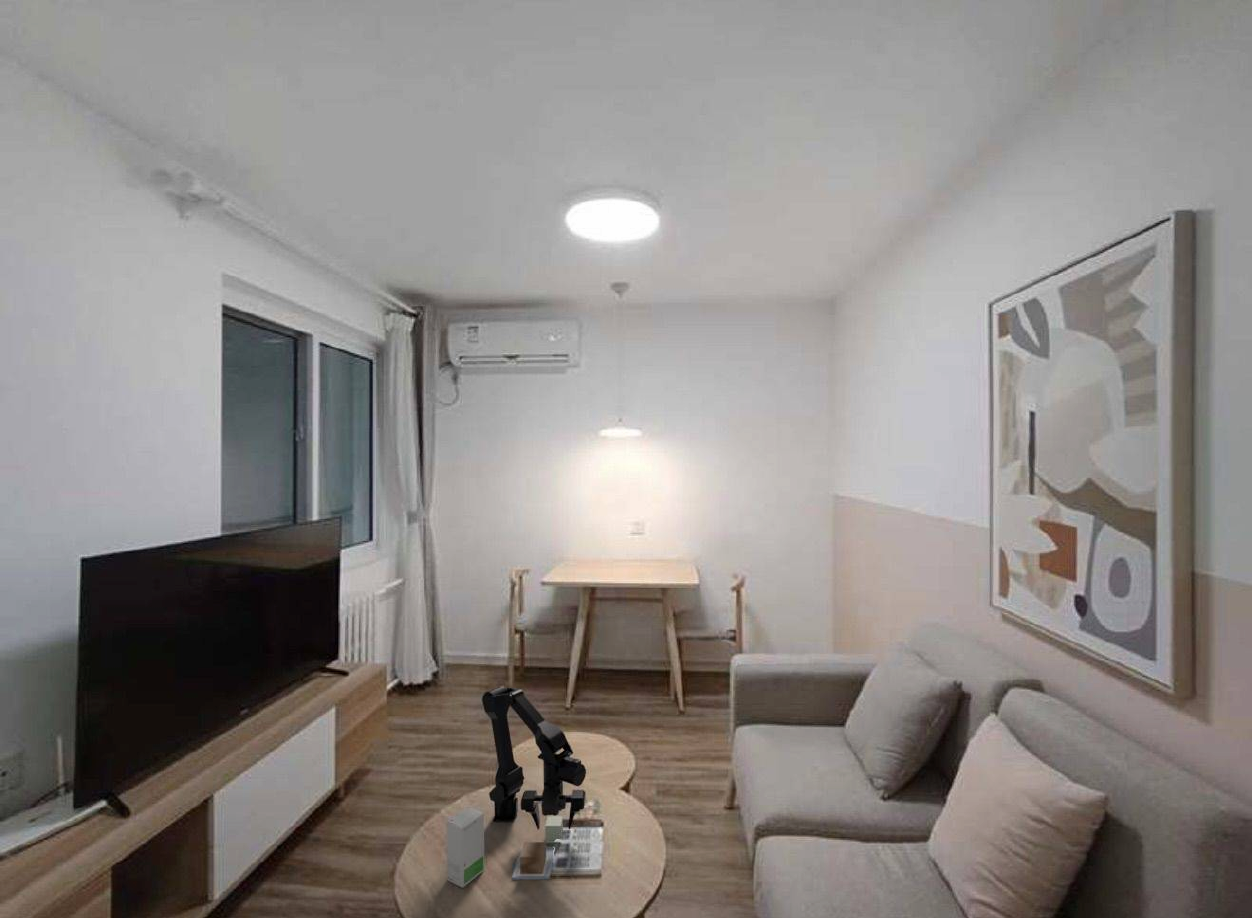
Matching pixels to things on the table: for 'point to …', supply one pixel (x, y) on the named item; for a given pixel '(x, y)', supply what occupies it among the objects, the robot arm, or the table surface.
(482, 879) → the table surface
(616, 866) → the table surface
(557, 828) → the sage block
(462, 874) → the skincare box
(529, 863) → the walnut block
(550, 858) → the board
